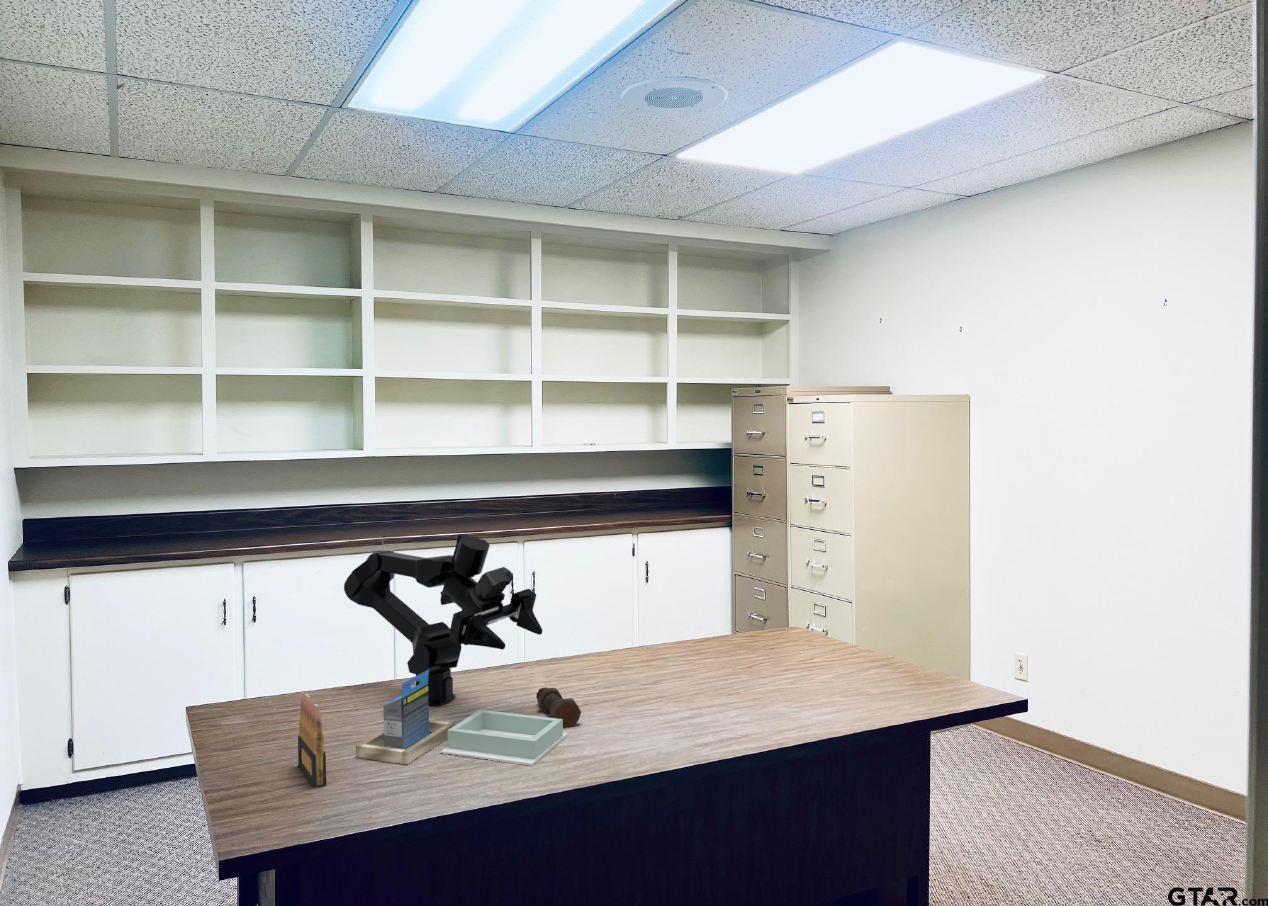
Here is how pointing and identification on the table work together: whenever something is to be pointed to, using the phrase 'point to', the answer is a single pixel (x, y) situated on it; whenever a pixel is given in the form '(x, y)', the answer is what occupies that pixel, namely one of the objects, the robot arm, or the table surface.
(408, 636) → the robot arm
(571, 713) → the bolt
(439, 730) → the beige open rectangular frame
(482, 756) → the slot plate
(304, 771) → the ammunition clip
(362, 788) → the table surface
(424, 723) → the label tape cartridge
